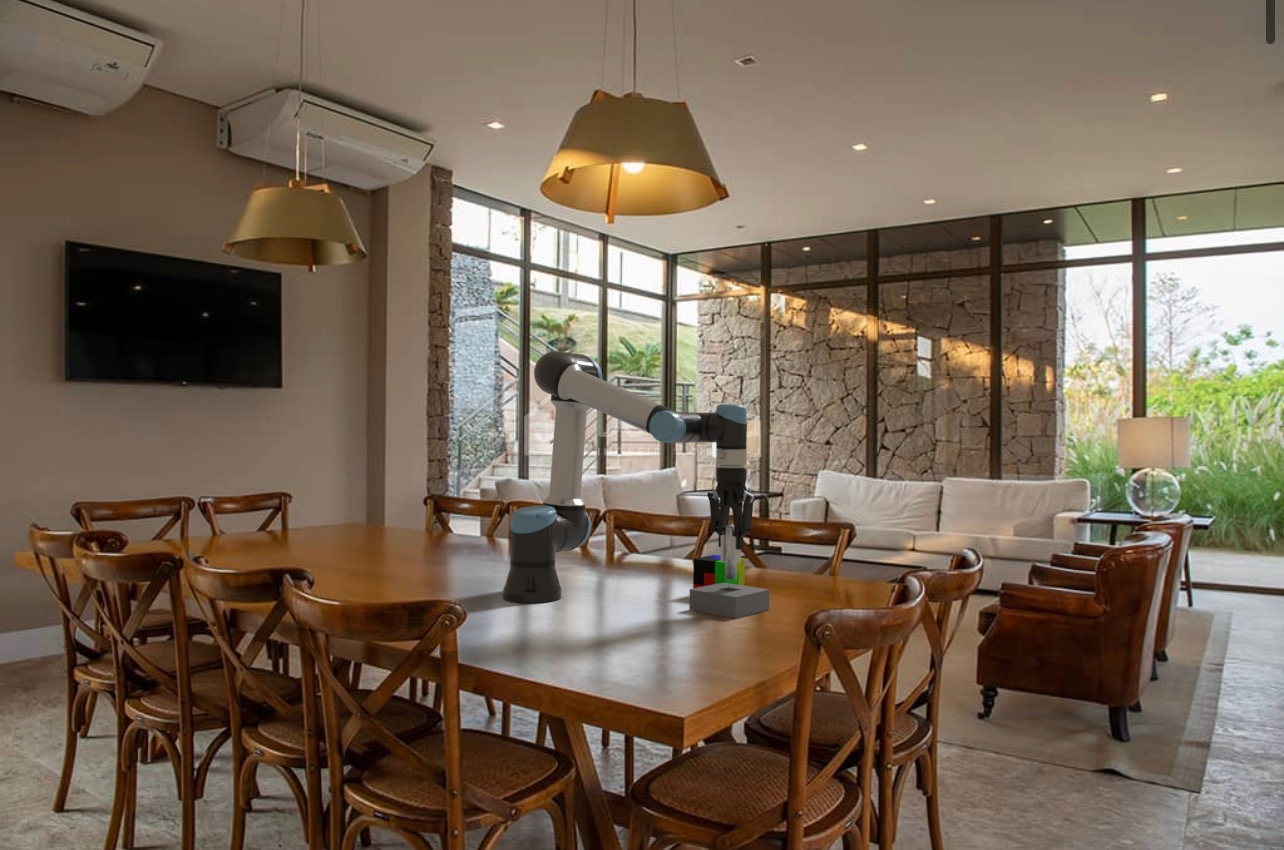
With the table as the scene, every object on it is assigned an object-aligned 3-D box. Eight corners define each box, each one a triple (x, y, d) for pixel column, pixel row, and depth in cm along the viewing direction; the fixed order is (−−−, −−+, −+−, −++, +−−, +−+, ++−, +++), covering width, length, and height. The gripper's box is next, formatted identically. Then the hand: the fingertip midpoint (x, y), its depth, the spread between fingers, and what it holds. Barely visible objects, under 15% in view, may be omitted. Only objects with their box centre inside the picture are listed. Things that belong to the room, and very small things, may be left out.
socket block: (689, 609, 213) (689, 589, 213) (723, 601, 224) (723, 582, 224) (735, 618, 204) (735, 597, 204) (769, 609, 214) (769, 589, 214)
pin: (722, 578, 214) (722, 525, 214) (729, 577, 216) (729, 525, 216) (731, 579, 212) (732, 526, 212) (738, 578, 214) (738, 525, 214)
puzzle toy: (712, 591, 239) (713, 554, 239) (744, 595, 233) (744, 558, 234) (693, 596, 231) (693, 558, 231) (725, 601, 225) (726, 562, 225)
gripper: (696, 466, 217) (696, 560, 216) (749, 468, 206) (748, 567, 206) (714, 465, 222) (714, 557, 222) (766, 467, 212) (766, 563, 211)
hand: (730, 561), depth 214 cm, fingers closed on pin, 3 cm apart
